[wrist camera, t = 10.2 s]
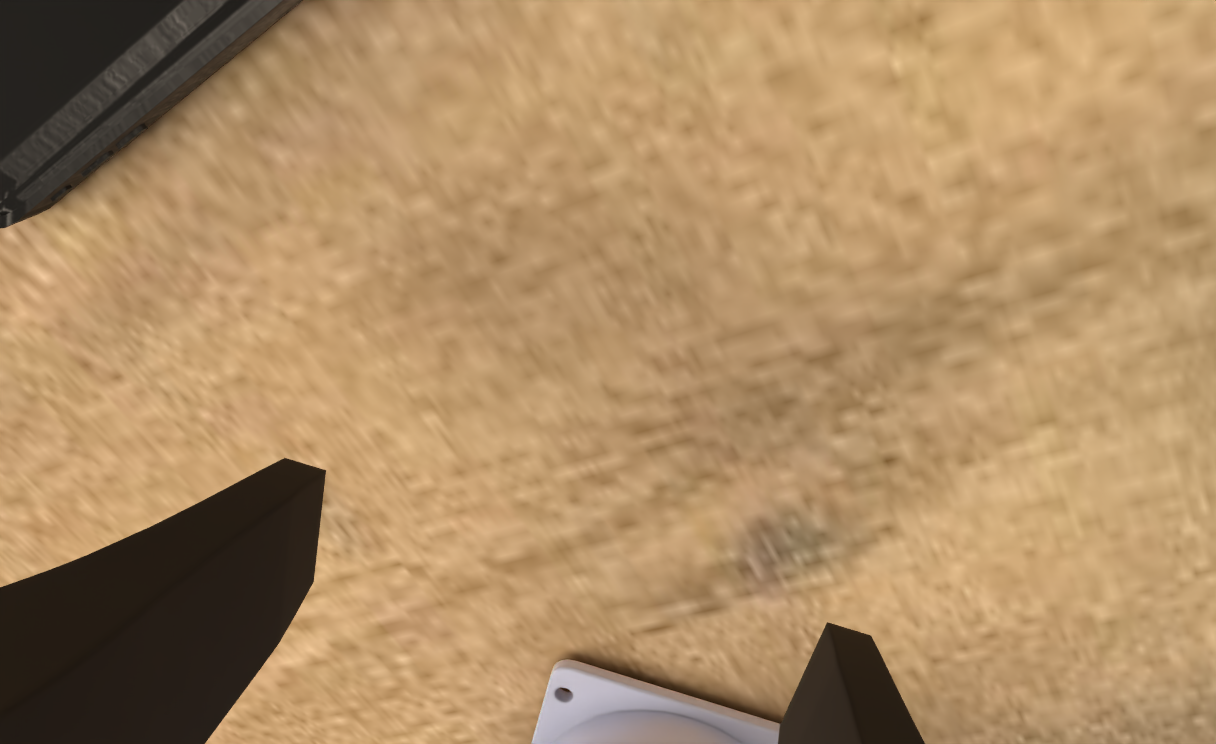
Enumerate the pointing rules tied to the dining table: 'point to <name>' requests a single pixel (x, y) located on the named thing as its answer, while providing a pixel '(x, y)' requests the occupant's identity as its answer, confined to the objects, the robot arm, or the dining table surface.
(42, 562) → the dining table surface
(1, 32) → the phone
